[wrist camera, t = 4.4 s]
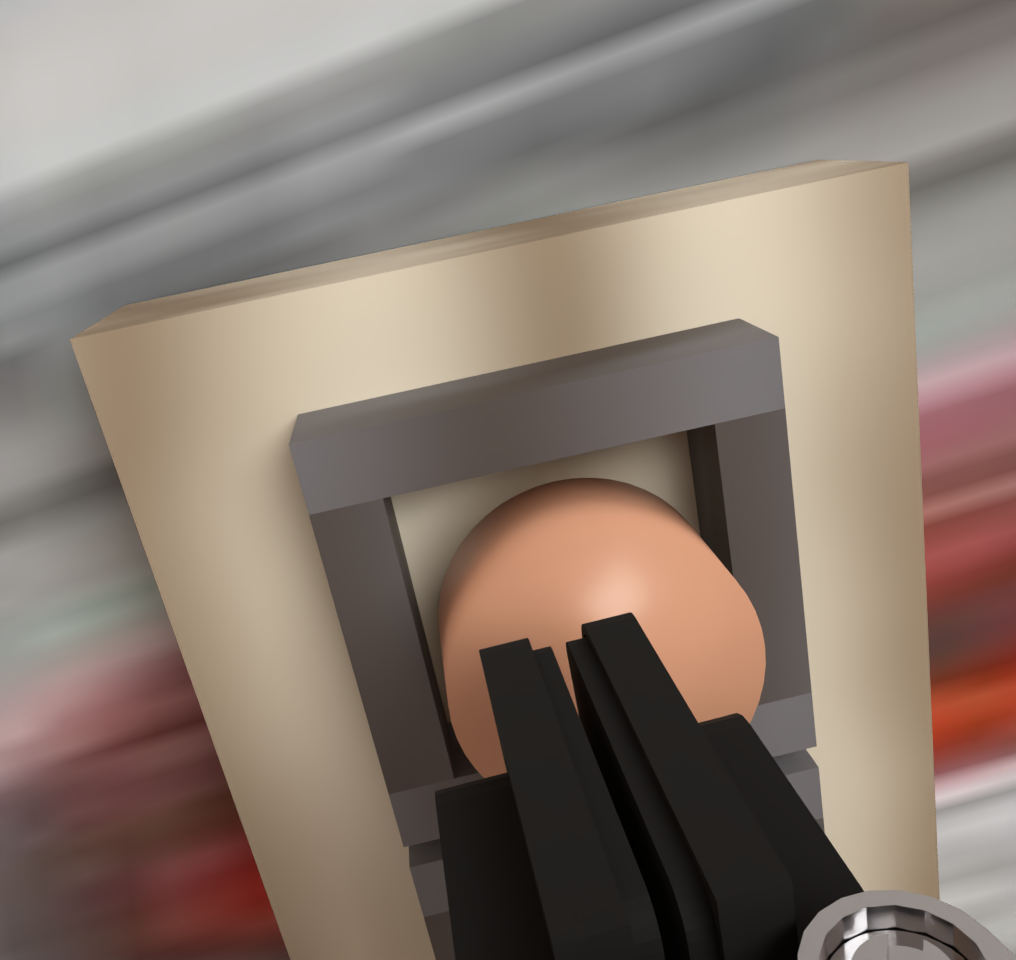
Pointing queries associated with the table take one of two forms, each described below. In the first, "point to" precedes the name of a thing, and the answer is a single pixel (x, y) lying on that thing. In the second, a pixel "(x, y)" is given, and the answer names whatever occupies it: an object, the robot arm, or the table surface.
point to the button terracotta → (593, 599)
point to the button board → (517, 468)
